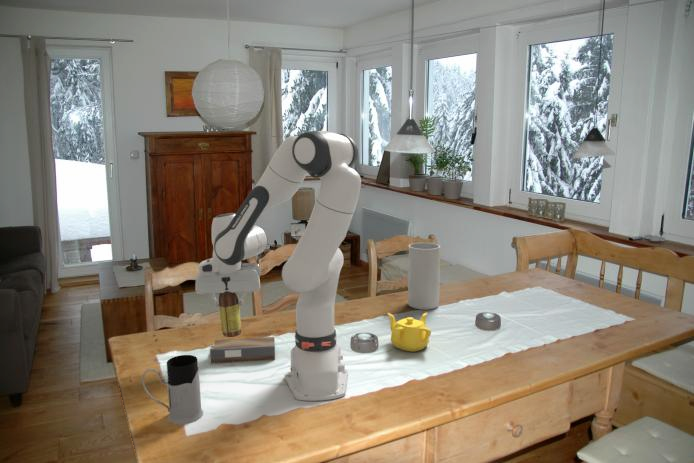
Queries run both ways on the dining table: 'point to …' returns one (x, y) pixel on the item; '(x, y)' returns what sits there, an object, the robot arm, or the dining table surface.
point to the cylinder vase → (423, 275)
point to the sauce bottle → (229, 312)
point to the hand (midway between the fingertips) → (229, 305)
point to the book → (243, 343)
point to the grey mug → (182, 389)
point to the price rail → (242, 352)
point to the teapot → (409, 333)
